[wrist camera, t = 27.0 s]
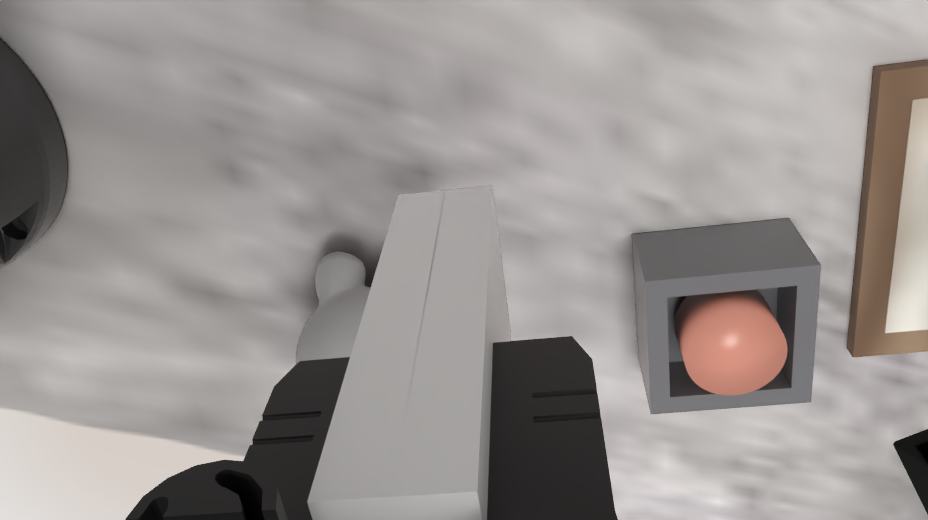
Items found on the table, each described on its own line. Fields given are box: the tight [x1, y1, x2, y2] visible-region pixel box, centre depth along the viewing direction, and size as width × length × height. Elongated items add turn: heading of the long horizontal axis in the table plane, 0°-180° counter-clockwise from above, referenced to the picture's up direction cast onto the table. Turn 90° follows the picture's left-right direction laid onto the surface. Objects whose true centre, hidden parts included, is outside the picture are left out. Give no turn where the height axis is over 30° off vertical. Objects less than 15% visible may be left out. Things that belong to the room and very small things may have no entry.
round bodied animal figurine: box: [296, 252, 371, 364], centre depth 44 cm, size 7×12×8 cm, turn 177°
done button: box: [674, 289, 787, 396], centre depth 40 cm, size 5×5×3 cm
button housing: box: [632, 218, 821, 414], centre depth 42 cm, size 8×8×5 cm
